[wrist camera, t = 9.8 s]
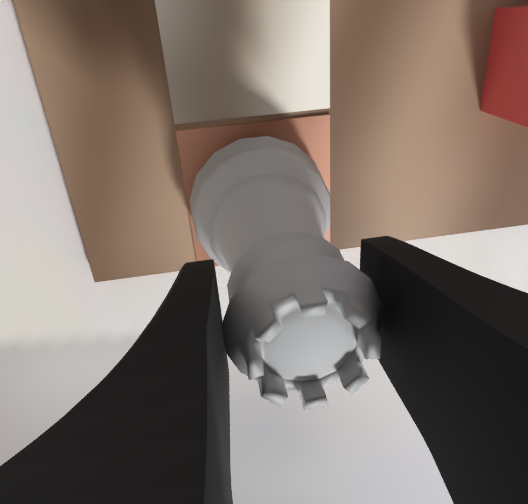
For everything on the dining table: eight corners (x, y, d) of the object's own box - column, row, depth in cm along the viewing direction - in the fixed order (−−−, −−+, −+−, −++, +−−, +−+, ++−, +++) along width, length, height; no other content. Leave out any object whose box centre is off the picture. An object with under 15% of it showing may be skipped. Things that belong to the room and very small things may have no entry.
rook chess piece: (160, 193, 15) (135, 359, 8) (268, 101, 14) (351, 195, 7) (246, 280, 17) (289, 475, 10) (346, 204, 16) (471, 359, 9)
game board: (642, -101, 13) (664, -107, 13) (561, 212, 18) (574, 219, 18) (2, -60, 12) (-8, -64, 11) (97, 273, 17) (94, 283, 16)
